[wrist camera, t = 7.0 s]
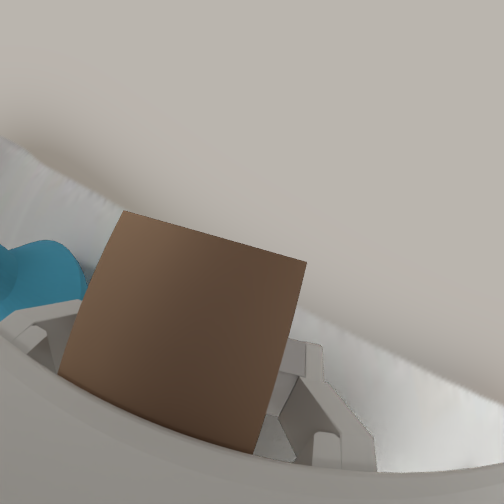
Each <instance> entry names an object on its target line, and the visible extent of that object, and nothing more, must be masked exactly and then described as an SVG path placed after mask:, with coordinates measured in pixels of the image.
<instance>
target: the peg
mask: <svg viewBox="0 0 504 504" xmlns="http://www.w3.org/2000/svg"><path fill="white" fill-rule="evenodd" d="M306 264H307V262H304V261H301V260H297V259H294V258H290V257H287V256H283V255H280V254H276V253H273V252H269V251H266V250H262V249H259V248H255V247H252V246H248V245H245V244H241V243H237V242H234V241H230V240H227V239H224V238H220V237H217V236H213V235H209V234H205V233H202V232H199V231H195V230H192V229H188V228H185V227H181V226H177V225H174V224H170V223H167V222H163V221H160V220H156V219H152V218H149V217H146V216H142V215H138V214H135V213H131V212H128V211H123V213H122V215H121V216H120V218H119V220H118V222H117V224H116V226H115V228H114V230H113V232H112V234H111V237H110V239H109V241H108V243H107V245H106V247H105V249H104V251H103V253H102V256H101V258H100V260H99V262H98V265H97V267H96V269H95V271H94V274H93V276H92V278H91V281H90V283H89V286H88V288H87V290H86V293H85V295H84V298H83V300H82V303H81V305H80V308H79V311H78V313H77V316H76V319H75V321H74V324H73V327H72V330H71V333H70V335H69V338H68V341H67V344H66V347H65V350H64V354H63V357H62V360H61V363H60V366H59V370H58V373H57V375H59V376H61V377H62V378H64V379H66V380H67V381H69V382H71V383H73V384H74V385H76V386H78V387H80V388H81V389H83V390H85V391H87V392H89V393H91V394H93V395H94V396H96V397H98V398H100V399H102V400H104V401H106V402H108V403H110V404H112V405H114V406H116V407H118V408H121V409H123V410H125V411H127V412H129V413H131V414H134V415H136V416H138V417H141V418H143V419H145V420H148V421H150V422H152V423H155V424H157V425H160V426H162V427H165V428H168V429H170V430H173V431H176V432H178V433H181V434H184V435H187V436H190V437H193V438H196V439H199V440H202V441H205V442H208V443H211V444H215V445H218V446H221V447H225V448H228V449H232V450H236V451H240V452H244V453H248V454H252V455H253V452H254V449H255V446H256V443H257V440H258V437H259V434H260V431H261V428H262V424H263V421H264V418H265V415H266V412H267V408H268V405H269V402H270V399H271V395H272V392H273V389H274V385H275V382H276V379H277V375H278V372H279V368H280V365H281V361H282V358H283V354H284V350H285V347H286V343H287V339H288V336H289V332H290V328H291V325H292V321H293V317H294V313H295V309H296V305H297V301H298V297H299V293H300V289H301V285H302V281H303V277H304V273H305V269H306Z"/></svg>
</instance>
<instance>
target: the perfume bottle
mask: <svg viewBox="0 0 504 504" xmlns="http://www.w3.org/2000/svg"><path fill="white" fill-rule="evenodd" d="M87 288H88V285H87V283H86V280H85V276H84V274H83V272H82V269H81V267H80V265H79V263H78V261H77V260H76V259H75V257H74V256H73V255H72V254H71V252H70V251H69V250H68V249H67V248H66V247H64V246H63V245H62V244H60V243H58V242H55V241H51V240H41V241H36V242H32V243H29V244H26V245H23V246H21V247H17V248H14V249H11V250H7V249H6V248H5V247H3V246H2V245H1V244H0V322H1V321H2V320H3V319H5V318H6V317H7V316H9V315H10V314H11V313H13V312H14V311H15V310H21V309H26V308H32V307H37V306H43V305H49V304H54V303H60V302H65V301H70V300H76V299H79V300H81V301H82V300H83V298H84V295H85V293H86V290H87Z"/></svg>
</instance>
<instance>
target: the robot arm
mask: <svg viewBox="0 0 504 504" xmlns="http://www.w3.org/2000/svg"><path fill="white" fill-rule="evenodd" d="M81 303H82V301H81V300H79V299H76V300H70V301H65V302H60V303H54V304H49V305H43V306H37V307H32V308H26V309H21V310H15V311H14V312H13V313H11V314H10V315H9V316H7V317H6V318H5V319H3V320H2V321H1V322H0V504H504V462H503V463H498V464H493V465H487V466H481V467H475V468H467V469H459V470H448V471H435V472H411V473H389V472H377V466H376V457H375V448H374V439H373V437H372V436H371V434H370V433H369V432H368V431H367V430H366V428H365V427H364V426H363V425H362V423H361V422H360V421H359V420H358V419H357V417H356V416H355V415H354V414H353V413H352V411H351V410H350V409H349V408H348V406H347V405H346V404H345V403H344V402H343V400H342V399H341V398H340V397H339V395H338V394H337V393H336V392H335V390H334V389H333V388H332V387H331V385H330V384H329V383H327V382H324V375H323V350H322V346H321V345H318V344H313V343H309V342H302V341H298V340H294V339H290V338H288V339H287V343H286V347H285V350H284V354H283V358H282V361H281V365H280V368H279V372H278V375H277V379H276V382H275V385H274V389H273V392H272V395H271V399H270V402H269V405H268V408H267V412H266V414H269V415H272V416H276V417H279V418H278V419H279V421H280V423H281V425H282V427H283V430H284V432H285V434H286V436H287V438H288V440H289V442H290V444H291V446H292V448H293V450H294V453H295V455H296V457H297V458H296V459H295V460H294V462H293V463H290V462H284V461H279V460H274V459H269V458H265V457H260V456H256V455H252V454H248V453H244V452H240V451H236V450H232V449H228V448H225V447H221V446H218V445H215V444H211V443H208V442H205V441H202V440H199V439H196V438H193V437H190V436H187V435H184V434H181V433H178V432H176V431H173V430H170V429H168V428H165V427H162V426H160V425H157V424H155V423H152V422H150V421H148V420H145V419H143V418H141V417H138V416H136V415H134V414H131V413H129V412H127V411H125V410H123V409H121V408H118V407H116V406H114V405H112V404H110V403H108V402H106V401H104V400H102V399H100V398H98V397H96V396H94V395H93V394H91V393H89V392H87V391H85V390H83V389H81V388H80V387H78V386H76V385H74V384H73V383H71V382H69V381H67V380H66V379H64V378H62V377H61V376H59V375H57V373H58V370H59V366H60V363H61V360H62V357H63V354H64V350H65V347H66V344H67V341H68V338H69V335H70V333H71V330H72V327H73V324H74V321H75V319H76V316H77V313H78V311H79V308H80V305H81Z"/></svg>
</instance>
